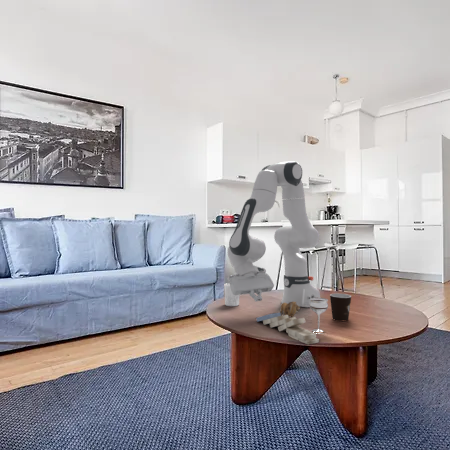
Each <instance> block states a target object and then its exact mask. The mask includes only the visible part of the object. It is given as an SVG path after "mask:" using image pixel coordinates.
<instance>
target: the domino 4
mask: <svg viewBox="0 0 450 450" xmlns="http://www.w3.org/2000/svg"><path fill="white" fill-rule="evenodd" d="M304 323H306V319H305V317H302V318H301V317H299V318H296V319H293V320H291V321H289V322H287V323H285V324H283V325H281V326H277V329H278V332H284V331H286V328H289V327H295V326H298V327H300V326H301V325H303V324H304Z"/></svg>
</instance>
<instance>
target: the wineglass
mask: <svg viewBox="0 0 450 450" xmlns="http://www.w3.org/2000/svg"><path fill="white" fill-rule="evenodd" d="M310 300H311V301H310V307H309V308H310V310H311V311H312V312H314V313H315V314H316V315H317V328H316V329H311V332H312V331H313V333H314V332H324V331H325V330H324V331H323V329H322V328H321V329H320V317H321V314H323V313H325V312H326V311H327V310H328V308H329V303H328V302H329V299H327V298H324V297H320V298H318V297H315V298H310Z"/></svg>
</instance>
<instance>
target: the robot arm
mask: <svg viewBox="0 0 450 450" xmlns="http://www.w3.org/2000/svg"><path fill="white" fill-rule="evenodd" d="M302 179H303V167H302V166H301V165H300V163H299V162H298V161H295V160H292V161H282V162H277V163H273V164H269V165H267V166H264V167H263V168H262V169H261V171H259V172H258V174H257V175H256V178H255V180H254V183H253V188H252V191H251V195H250V197H249V198H248V199H247V200H246V201H245V202H244V204H243V207H242V209H241V212H240V213H239V216H238V220H237V223H236V226H235V228H234V231H233V233H232V235H231V236H230V238H229V242H228V245H229V246H228V248H227V256H228V260H229V263H230V264H231V266H232V267H233V269H234V273H235V274H230V275H229V276H227V282H228V283H229V284H230V288H231V292H232V294H234V295H240V296H241V295H249V296H250V297H251V298H252V299H253V300H254V302H262V301H263V297H262V293H265V292H271V291H272V290H273V288H274V286H275V284H274V282H273V280H272V278H271V276H270V275H269V274H268V273H266V272H267V270H266V268H265V267H259V266H257V265H254V264H253V263H255V262H257V261H258V260H260V259H261V258H263V256H264V255H265V253H266V248H267V247H266V243H265V242H264V240H262V239H260V238H258V237H255V236H253V235H250V234H249V233H250V229H251V226H252V223H253V220H254V217H255V216H256V214H258V213H265V212H269V211H270V210H271V209H272V208H273V207H274V205H275V202H276V196H277V193H278V192H277V191H278V187H281V188H282V189H281V197H282V198H281V199H282V200H281V201H282V212H283V216H284V218H286V219H287V220H288V221H289V223H290V225H286V226H281V227H278V228H277V229H276V230H275V232H274V235H273V236H274V237H273V238H274V242H275V244H277V245H278V247H279V248H280V250H281V253H282V256H283V259H284V275H283V294H282V299H281V301H280V303H281V304H282V303H287V304H288V303H289V302H296V304H297V305H298V306H299V307H300V308H301V307H302V308H310V301H311V300H310V298H315V297H318V298H321V293H320V290H319V289H317V288H316V287H315V286H314V285H313V284H312V283H311V282H310V281H314V279H315V278H314V276H310V275H308V260H307V258H306V257H305V256H304V255H303V254H302V253H301V250H300V249H305V250H307V249H313V248H315V247H317V246H318V244H319V243H320V240H321V239H320V237H321V235H320V233H319V231H318V229H317V228H315V226H314V225H312V223H311V222H310V220H309V217H308V214H307V207H306V199H305V196H306V195H305V188H304V185H303V181H302Z"/></svg>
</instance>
